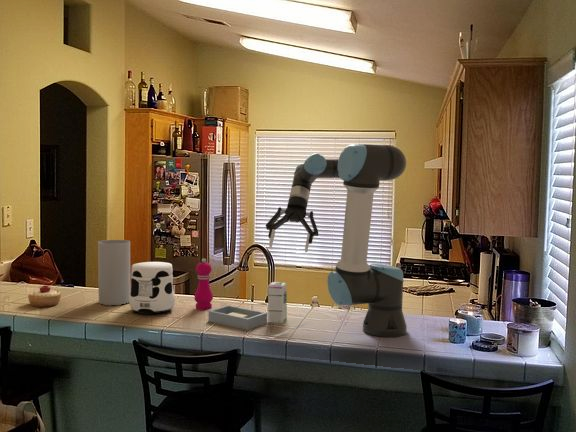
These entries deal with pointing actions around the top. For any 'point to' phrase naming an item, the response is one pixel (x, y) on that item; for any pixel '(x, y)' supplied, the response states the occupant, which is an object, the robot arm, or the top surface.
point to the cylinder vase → (114, 272)
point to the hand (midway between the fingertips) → (288, 248)
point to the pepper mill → (203, 286)
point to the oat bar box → (239, 315)
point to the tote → (237, 317)
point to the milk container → (151, 287)
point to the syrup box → (277, 302)
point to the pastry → (44, 297)
